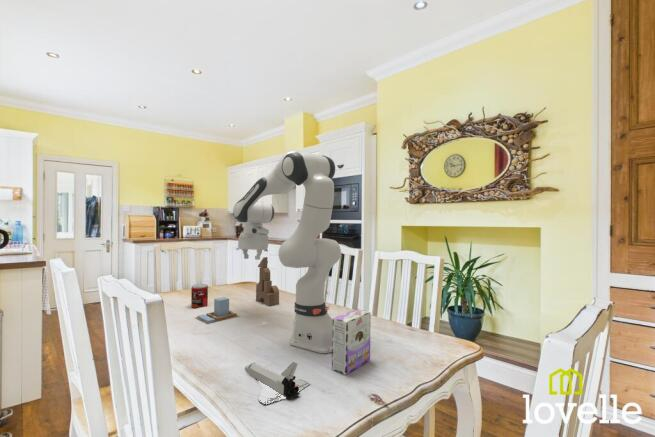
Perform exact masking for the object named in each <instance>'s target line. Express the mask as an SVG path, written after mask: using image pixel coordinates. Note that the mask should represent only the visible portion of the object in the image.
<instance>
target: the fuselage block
mask: <svg viewBox="0 0 655 437" xmlns="http://www.w3.org/2000/svg"><path fill="white" fill-rule="evenodd" d="M213 306H214V307H213V312H214V316H216V317H221V316H225V315H229V311H230V298H228V297H226V296H222V297H216V298H214V299H213Z"/></svg>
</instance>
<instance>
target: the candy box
mask: <svg viewBox="0 0 655 437" xmlns="http://www.w3.org/2000/svg"><path fill="white" fill-rule="evenodd" d="M332 319H333V336H332V337H333V338H332V352H331V370H333V371H334V372H337V373H339V372H340V373H339V374H341V373H342V375H344V374H345V375H344V376H347V375H349V374H351V373H352V372H353V370H354V371H355V370H356V369H358V368H360V367H361V366H363V365H364V364H366V363H368V362H369V361H371V311H369V310H363V309H359V308H355V309H354V310H351V311H348V312H345V313H343V314H341V315H339V316H335V317H332ZM348 373H349V374H348ZM346 374H347V375H346Z"/></svg>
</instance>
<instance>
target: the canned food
mask: <svg viewBox="0 0 655 437" xmlns="http://www.w3.org/2000/svg"><path fill="white" fill-rule="evenodd" d="M208 292H209V286H208V283H207V284H206V283H198V284H192V285H191V294H190V295H191V300H190V302H191V303H190V304H191V308H192V309H195V310H196V309H200V308H206V307H208V304H209V302H208V301H209V299H208V297H209V293H208Z"/></svg>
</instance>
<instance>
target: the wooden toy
mask: <svg viewBox="0 0 655 437" xmlns="http://www.w3.org/2000/svg"><path fill="white" fill-rule="evenodd" d="M257 268H259V270H258V271H259V276H258V278H259V279H258V283H257V284H256V286H255V289H256V290H255V302H258V303H265V306H268V307H274V306H277V305H279V304H280V289H279V287H278V286H277V285H273V281H272V280H271V270H270V268H269V267H268V256H267V257H266V256H265V257H264V256H263V257H262V259H261V260H260V261H259V263H258V266H257Z"/></svg>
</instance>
